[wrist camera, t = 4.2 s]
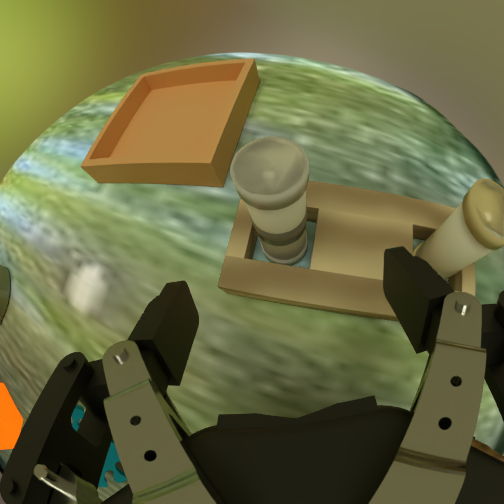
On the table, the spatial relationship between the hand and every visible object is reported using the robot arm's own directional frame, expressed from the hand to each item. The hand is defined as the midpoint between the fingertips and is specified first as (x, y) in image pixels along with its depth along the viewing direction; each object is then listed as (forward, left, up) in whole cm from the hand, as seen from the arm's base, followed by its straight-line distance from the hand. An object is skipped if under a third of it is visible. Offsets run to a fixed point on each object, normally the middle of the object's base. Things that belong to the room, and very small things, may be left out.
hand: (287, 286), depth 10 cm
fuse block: (+6, -5, -11) cm, 14 cm away
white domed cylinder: (+6, +2, -11) cm, 13 cm away
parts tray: (+20, +18, -11) cm, 29 cm away
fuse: (+6, -11, -11) cm, 17 cm away
